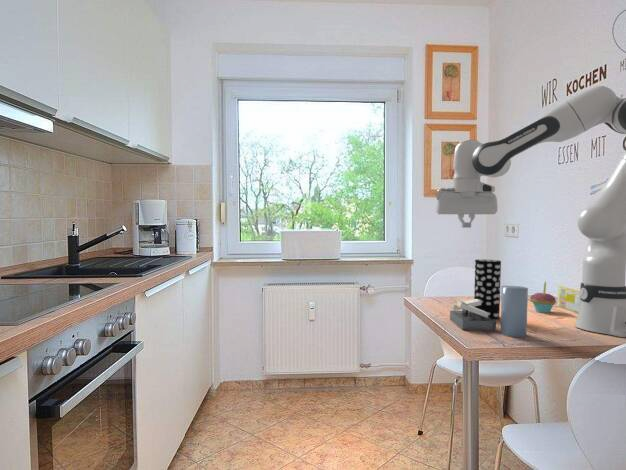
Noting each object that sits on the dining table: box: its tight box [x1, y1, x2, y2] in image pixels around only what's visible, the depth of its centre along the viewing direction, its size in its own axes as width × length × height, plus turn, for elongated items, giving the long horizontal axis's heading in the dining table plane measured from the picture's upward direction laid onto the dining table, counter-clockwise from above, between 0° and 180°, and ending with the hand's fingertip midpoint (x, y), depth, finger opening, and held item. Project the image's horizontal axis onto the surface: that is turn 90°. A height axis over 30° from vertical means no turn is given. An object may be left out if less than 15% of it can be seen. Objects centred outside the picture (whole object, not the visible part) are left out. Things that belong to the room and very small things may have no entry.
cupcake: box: [529, 280, 557, 314], centre depth 155 cm, size 9×8×12 cm
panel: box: [449, 309, 497, 332], centre depth 133 cm, size 10×14×5 cm
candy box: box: [556, 286, 581, 314], centre depth 158 cm, size 16×2×8 cm, turn 0°
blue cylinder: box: [500, 285, 529, 338], centre depth 122 cm, size 7×7×14 cm
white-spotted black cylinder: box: [473, 258, 502, 321], centre depth 144 cm, size 8×8×20 cm
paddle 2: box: [457, 300, 489, 318], centre depth 129 cm, size 9×4×2 cm, turn 86°
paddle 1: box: [449, 298, 481, 311], centre depth 136 cm, size 9×4×2 cm, turn 87°
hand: (466, 227), depth 143 cm, fingers closed
